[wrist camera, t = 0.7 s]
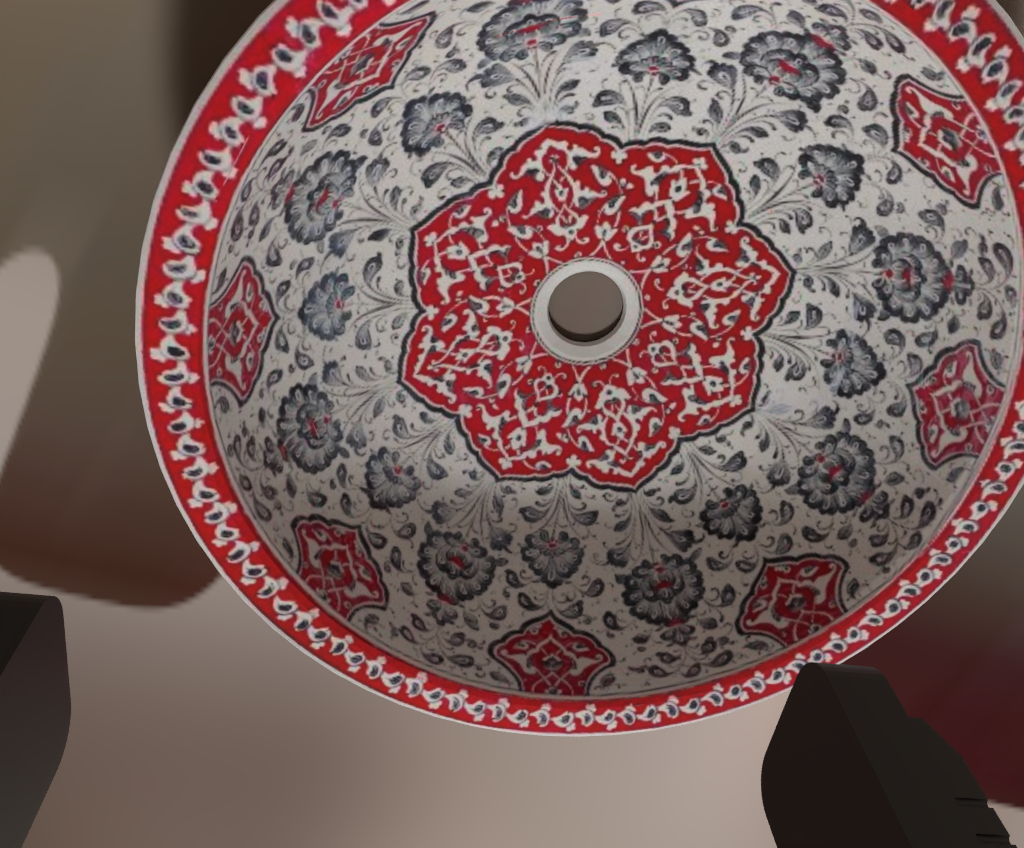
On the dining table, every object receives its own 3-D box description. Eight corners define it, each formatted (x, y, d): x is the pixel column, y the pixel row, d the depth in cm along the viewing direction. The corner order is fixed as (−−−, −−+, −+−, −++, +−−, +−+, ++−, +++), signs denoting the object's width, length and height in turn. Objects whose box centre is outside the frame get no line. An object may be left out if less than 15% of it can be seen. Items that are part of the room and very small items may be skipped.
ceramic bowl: (996, -205, 29) (1176, -253, 22) (933, 551, 42) (1032, 673, 35) (78, -54, 29) (-40, -52, 22) (306, 650, 43) (279, 791, 36)
